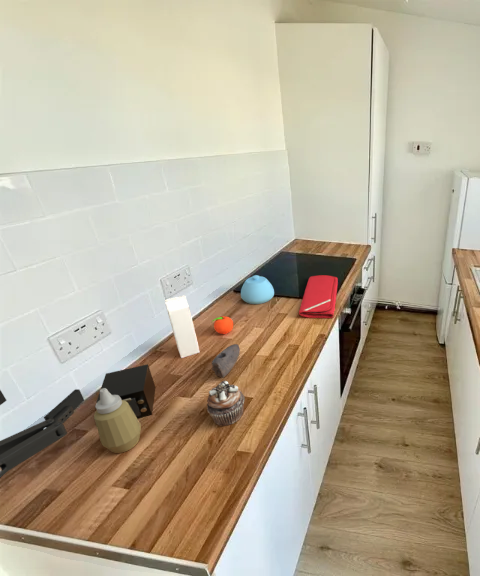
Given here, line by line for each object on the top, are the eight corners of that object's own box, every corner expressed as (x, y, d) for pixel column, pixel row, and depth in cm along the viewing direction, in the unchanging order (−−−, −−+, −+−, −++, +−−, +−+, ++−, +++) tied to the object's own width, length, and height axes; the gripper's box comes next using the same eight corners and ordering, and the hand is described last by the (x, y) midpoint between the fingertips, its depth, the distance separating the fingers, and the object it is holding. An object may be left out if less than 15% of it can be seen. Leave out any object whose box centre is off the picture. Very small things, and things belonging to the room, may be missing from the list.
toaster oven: (106, 431, 86) (94, 405, 82) (115, 397, 96) (105, 373, 92) (151, 418, 90) (142, 393, 86) (155, 387, 101) (148, 364, 97)
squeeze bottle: (141, 425, 88) (121, 373, 80) (148, 444, 83) (127, 390, 75) (103, 442, 83) (77, 388, 75) (108, 464, 78) (81, 408, 70)
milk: (178, 350, 118) (162, 296, 108) (196, 344, 121) (183, 291, 112) (181, 358, 113) (165, 303, 104) (200, 352, 117) (187, 298, 107)
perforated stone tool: (232, 352, 118) (230, 337, 115) (246, 354, 117) (244, 338, 114) (209, 381, 104) (205, 364, 101) (224, 382, 104) (221, 365, 101)
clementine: (211, 338, 125) (208, 323, 122) (213, 329, 130) (210, 314, 127) (234, 336, 127) (231, 320, 124) (235, 326, 133) (232, 311, 130)
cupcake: (201, 423, 89) (194, 396, 85) (226, 398, 98) (220, 372, 94) (231, 432, 87) (225, 404, 83) (253, 406, 96) (249, 380, 91)
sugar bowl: (234, 302, 151) (230, 280, 146) (253, 289, 164) (250, 268, 159) (264, 307, 148) (261, 284, 143) (280, 293, 161) (278, 272, 156)
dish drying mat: (338, 280, 179) (338, 274, 178) (334, 318, 143) (334, 311, 141) (309, 279, 178) (309, 273, 176) (297, 318, 141) (297, 311, 139)
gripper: (-201, 537, 42) (-23, 410, 61) (9, 532, 43) (118, 409, 62) (-247, 502, 38) (-44, 378, 57) (-19, 497, 40) (105, 379, 59)
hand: (41, 394), depth 60 cm, fingers open, 13 cm apart
